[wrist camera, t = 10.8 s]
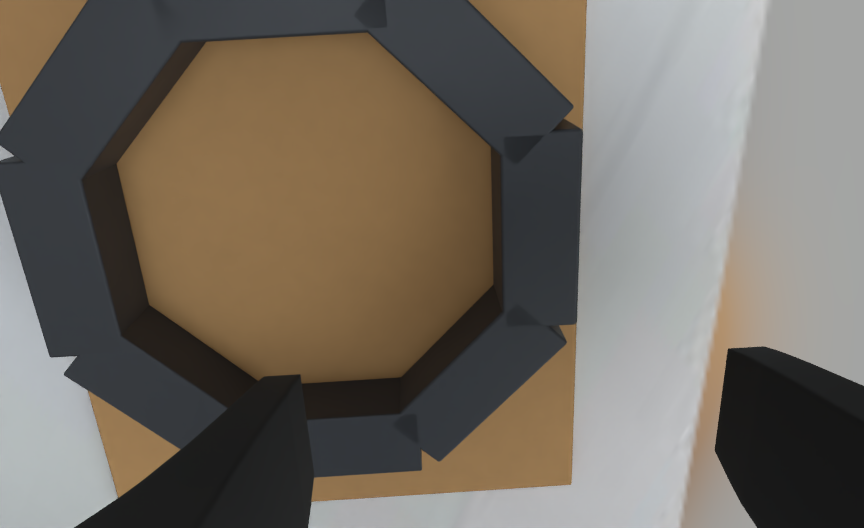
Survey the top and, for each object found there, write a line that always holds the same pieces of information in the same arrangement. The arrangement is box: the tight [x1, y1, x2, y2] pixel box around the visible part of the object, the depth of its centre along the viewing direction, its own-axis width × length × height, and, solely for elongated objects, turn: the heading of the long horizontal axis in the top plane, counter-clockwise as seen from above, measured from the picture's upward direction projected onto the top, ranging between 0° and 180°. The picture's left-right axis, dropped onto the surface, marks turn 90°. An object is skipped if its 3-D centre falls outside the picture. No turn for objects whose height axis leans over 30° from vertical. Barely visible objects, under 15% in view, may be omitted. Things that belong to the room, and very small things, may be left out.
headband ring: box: [0, 0, 583, 478], centre depth 17 cm, size 14×14×2 cm
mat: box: [0, 0, 587, 502], centre depth 18 cm, size 19×15×1 cm
